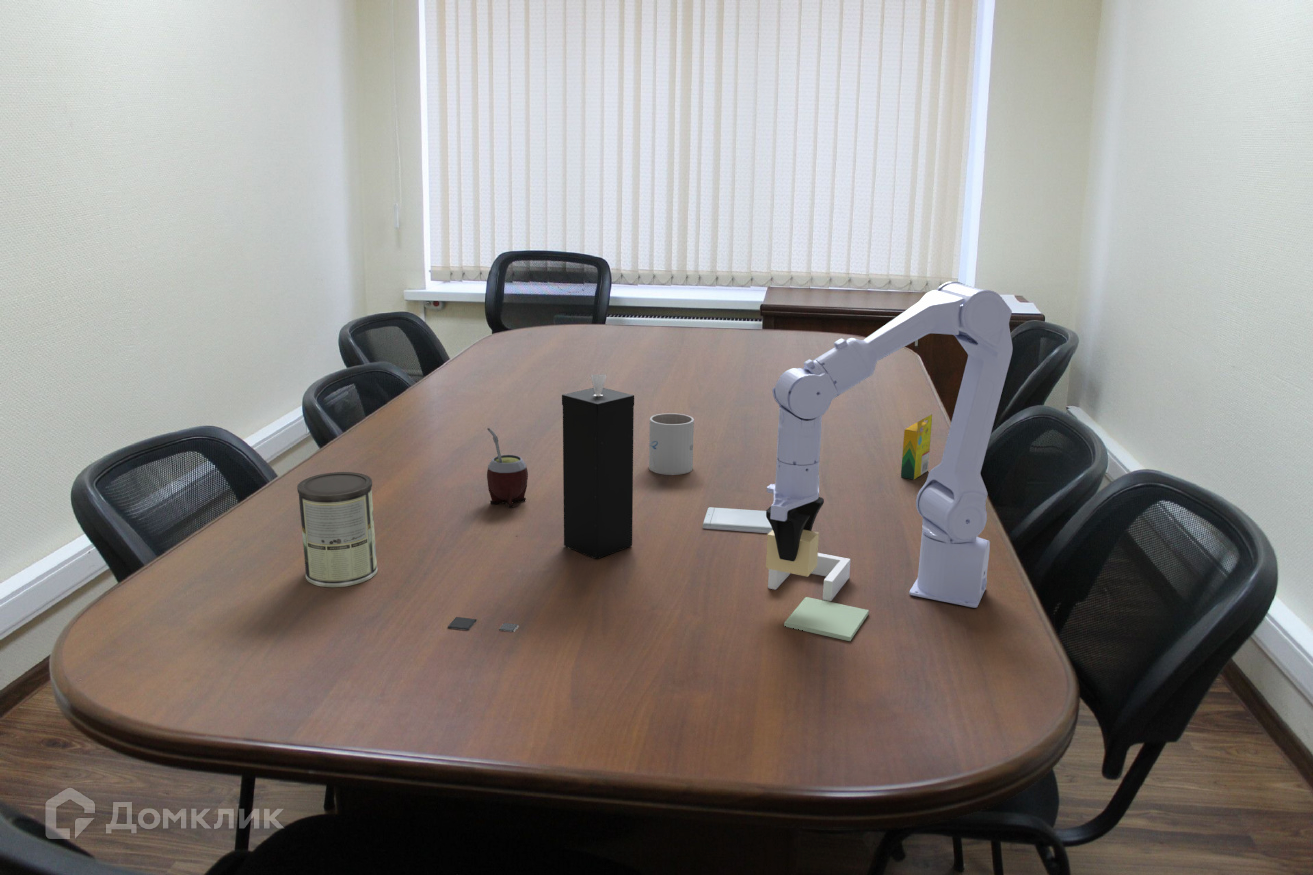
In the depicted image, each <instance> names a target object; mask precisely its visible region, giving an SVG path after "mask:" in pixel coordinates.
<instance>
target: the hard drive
mask: <svg viewBox="0 0 1313 875" xmlns="http://www.w3.org/2000/svg"><path fill="white" fill-rule="evenodd" d="M706 510H707V511H706V514H705V516H704V520H703V523H702V529H708V530H720V531H721V530H722V531H732V532H733V531H734V532H737V531H738V532H748V533H749V532H750V533H751V532H752V533H761V534H763V533H764V534H769V533H770V532H771V531H772V530H773V529H772V527H771V524H770V523H769V521H768V519H767V517H766V510H759V509H758V510H755V509H754V510H753V509H744V508H743V509H741V508H740V509H739V508H726V507H711V506H710V507H708V508H707V509H706Z"/></svg>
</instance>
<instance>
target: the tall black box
mask: <svg viewBox="0 0 1313 875" xmlns="http://www.w3.org/2000/svg"><path fill="white" fill-rule="evenodd" d="M590 377H591V383H592V385H593V387H591V388H587V389H583V390H578V391H577V390H576V391H572V392H569V393H564V394H561V405H562V471H563V472H562V475H563V477H562V478H563V480H562V481H563V482H562V483H563V487H562V488H563V546H564V547H566V548H568V549H571V550H573V551H576V552H578V553H581V554H582V555H586V556H588V557H591V558H592V559H601V558H604V557H606V556H609V555H612V554H614V553H617V552H619V551H623V550H625V549H627V548H629V547H632V546H633V510H634V509H633V506H634V505H633V503H634V502H633V500H634V495H633V494H634V418H635V416H634V411H635V410H634V407H635V395H634V394H631V393H627V392H623V391H620V390H619V391H618V390H614V389H610V388H606V387H604V386H605V382H606V379H607V374H591V375H590Z"/></svg>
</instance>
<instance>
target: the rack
mask: <svg viewBox="0 0 1313 875" xmlns="http://www.w3.org/2000/svg"><path fill="white" fill-rule="evenodd" d="M851 559H852V558H846V557H841V556H837V555H831V554H825V553H821V552H818V558H817V567H816V568H815V569H814V570H813V571H812V573H811V574H812V575H817V576H821V577H825V578H824V580H823V587H822V589H823V591H822V600H823V601H828V602H832V601H833V599H834V598H835V597H836V595H837V594H838V593H839V591H840V590H841V589H842V587H844V585H845V584H846V582H848V580H849V579H850V574H851V573H850V571H851V570H850V569H851ZM791 574H792V573H787V572H782V571H777V570H772V569H768V581H767V583H768V584H767V589H770V590H771V589H772V590H777V589H778V588H779V587H780V586H781V585H782V584H783V583H784V582H785V580H787V578H788V577H789V576H790V575H791ZM811 574H810V575H811Z"/></svg>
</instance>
